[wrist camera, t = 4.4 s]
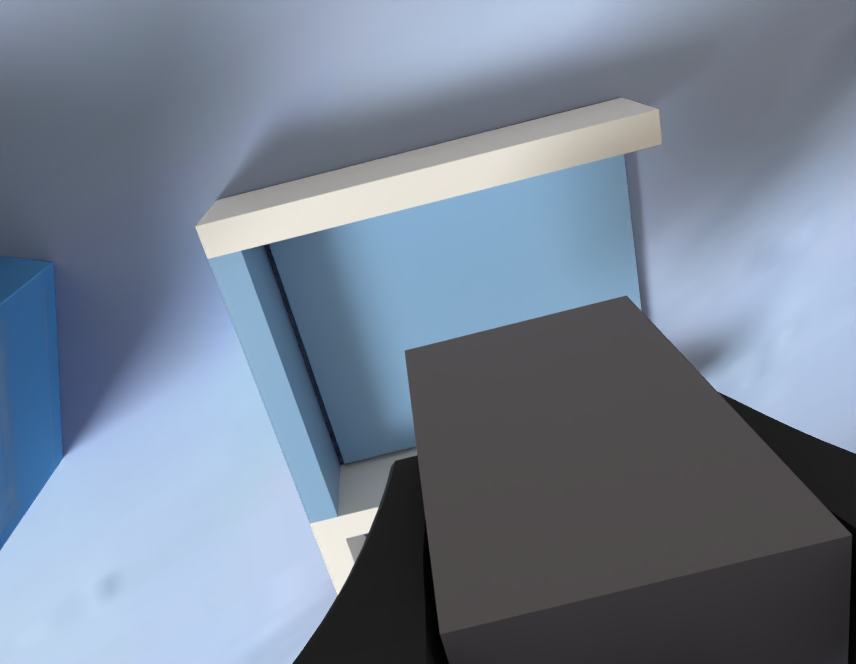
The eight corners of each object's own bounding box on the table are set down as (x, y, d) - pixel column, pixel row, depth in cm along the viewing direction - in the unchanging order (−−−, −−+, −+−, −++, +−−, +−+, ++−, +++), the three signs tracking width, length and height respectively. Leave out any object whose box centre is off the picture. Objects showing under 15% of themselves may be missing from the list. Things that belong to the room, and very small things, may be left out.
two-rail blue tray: (678, 610, 26) (708, 667, 23) (391, 678, 26) (394, 742, 24) (621, 97, 18) (658, 109, 16) (215, 200, 18) (194, 226, 16)
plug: (648, 477, 16) (925, 924, 8) (452, 525, 16) (539, 1014, 8) (626, 295, 14) (962, 651, 6) (404, 350, 14) (457, 770, 6)
